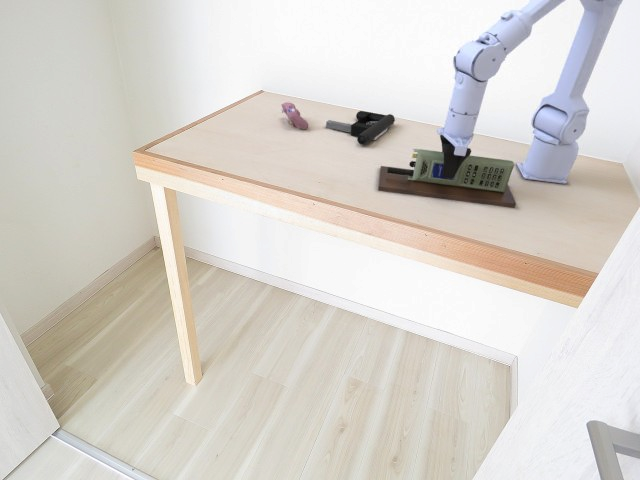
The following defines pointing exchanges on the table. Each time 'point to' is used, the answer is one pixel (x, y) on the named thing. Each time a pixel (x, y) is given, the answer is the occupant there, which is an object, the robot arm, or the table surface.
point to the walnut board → (442, 190)
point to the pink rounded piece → (294, 115)
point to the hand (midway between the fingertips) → (447, 173)
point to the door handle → (365, 126)
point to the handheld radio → (459, 171)
